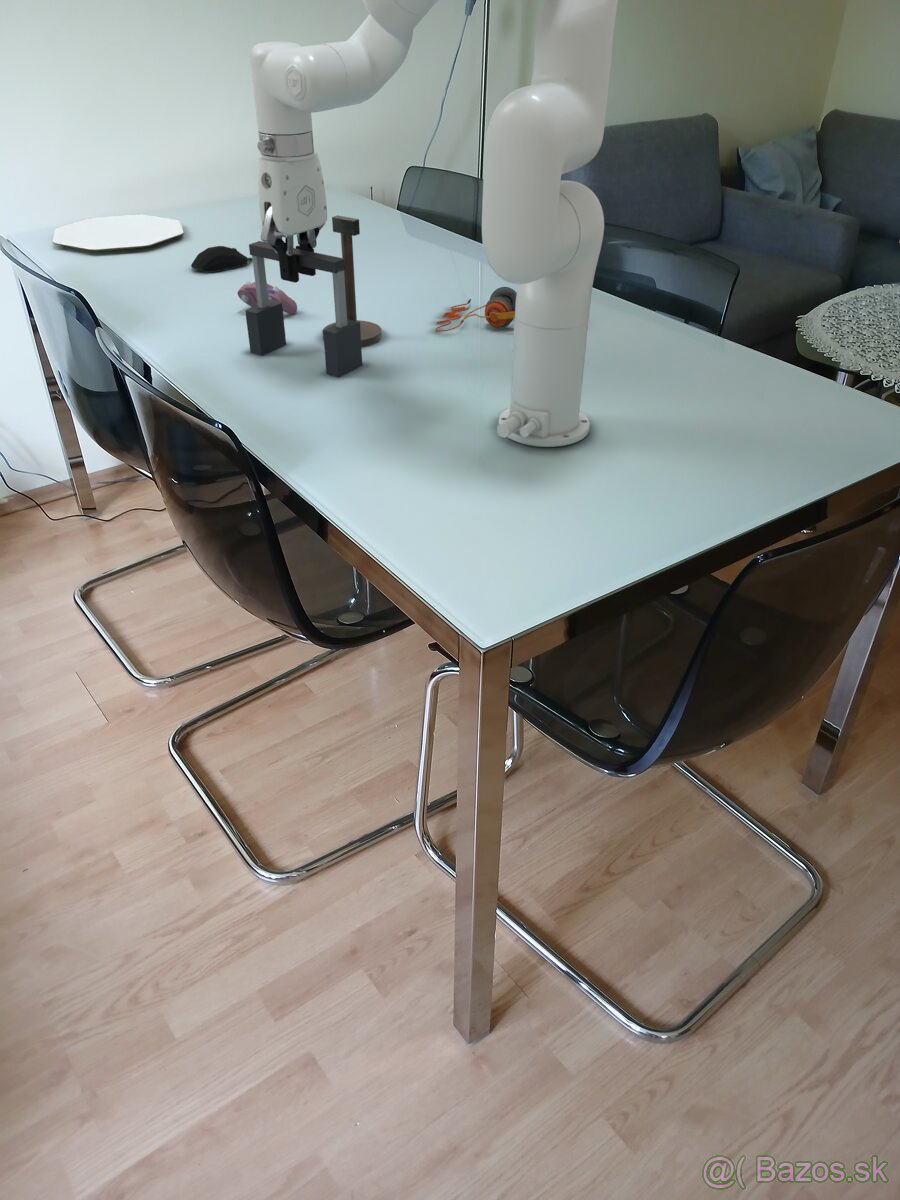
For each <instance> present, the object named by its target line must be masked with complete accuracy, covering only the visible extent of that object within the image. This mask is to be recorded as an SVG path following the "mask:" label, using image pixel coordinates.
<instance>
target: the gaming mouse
mask: <svg viewBox="0 0 900 1200" xmlns="http://www.w3.org/2000/svg"><path fill="white" fill-rule="evenodd" d="M248 262H253V259H252V257H247V256H246V255H244V254H243V253H241V252H240V251H238V250H237V248H236V247H229V246H224V245H216V246H211V247H207V248H206V249H204V250H203V251H200V252H199V253H198V254H197V255H196V256H195V258H194V259H193V261H192V263H191V264H190V267H191V268H192V269H193V270H195V271H197V272H198V271H199V272H204V273H215V272H216V273H217V272H222V271H227V270H231V269H236V268H241V267H245V266H246V265H248Z"/></svg>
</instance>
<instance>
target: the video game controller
mask: <svg viewBox="0 0 900 1200" xmlns="http://www.w3.org/2000/svg"><path fill="white" fill-rule="evenodd" d="M267 290H268V299H269V301H270V300H272V301H276V302H280V303H282V308H283V313H285V314H289V315H294V314H296V313H298V304H297V302H296V301H295V300H294V299H292V298H291V297H290V296H288V295H287V293H286V292H284V291H283V290H282V289H280V288H279V287H278V286H273V285H271V284H268V283H267ZM237 296H238V298H239V299H240V300H241V301H242V302H243V303H245V304H246V305H247V306H249V307H250V308H252V307H255V306H257V305H258V301H257V293H256V285H255V281H254V282H250V281H246V283H245V284H243V285H242V286H241V287H240V288H239V289H238V291H237Z"/></svg>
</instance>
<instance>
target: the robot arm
mask: <svg viewBox="0 0 900 1200" xmlns="http://www.w3.org/2000/svg"><path fill="white" fill-rule="evenodd" d="M361 1H362V3H363V5H364V8H365V9H366V11H367V12H368V15H367V17H366V18H365V19H364V21H363V22H362V23H361V25H360V26H359V27H358V28H357V29H356V30H355V32H354V33H353V34H352V35H351V36H350V37H349V38H348V39H347V40H345V41H334V42H326V43H318V44H312V45H304V46H302V45H301V44H299V43H296V42H290V41H266V42H260V43H257V44H255V45H254V46H253V47H252V49H251V52H250V67H251V68H250V69H251V77H252V83H253V84H252V85H253V95H254V96H253V97H254V105H255V113H256V125H257V133H258V142H257V144H256V145H257V150H258V151H259V152H260V157H259V159H258V205H259V215H260V216H259V217H260V221H261V226H262V229H261V235H260V241H262V242H265V243H267V244H270V245H271V246H272V247H273V248H274V250H275V253H278V256H279V261H278V264H279V273H280V274H279V275H280V279H281V280H282V281H287V282H291V283H294V284H295V283H299V281H300V274H301V275H305V276H310V277H314V276H316V275H317V273H316V271H317V269H312V268H308V267H303V266H299V265H298V261H297V255H295V254H293V253H294V248H296V249H300V250H305V251H310V252H315V248H316V247H317V244H318V242H317V238H318V236H319V235H320V231H321V230H322V228H323V227H324V225H326V222H327V220H328V205H327V197H326V196H327V195H326V189H325V188H326V187H325V181H324V176H323V175H324V174H323V171H322V166H321V162H320V159H319V155H318V153H317V152H316V151H315V148H314V135H313V134H314V133H313V119H312V113H320V112H321V113H322V112H325V111H330V110H334V109H338V108H339V109H340V108H344V107H350V106H355V105H359V104H362V103H364V102H366V101H368V100H370V99H371V98H373V96H375V95H376V94H377V93H378V92H379V91H380V90H381V89H382V88H383V87H384V86H385V85H386V83H387V82H388V81H389V80H390V79H392V77H393V76H394V75H395V74H396V72H398V70H399V69H400V68H401V66H402V65H403V63H404V62H405V60H406V58H407V57H408V56H407V55H408V53H409V50H410V47H411V45H412V41H413V37H414V29H415V28H416V26H417V25H419V23H420V22H421V21H422V19H424V17H425V16H426V15H427V14H428V13H429V12H430V10H431V9H432V8H433V7H434V6H435V4H437V3H438V1H439V0H361ZM618 2H619V0H544V2H543V5H542V7H541V10H540V14H539V17H538V20H537V21H538V22H537V23H536V24H537V25H536V29H535V36H534V55H533V56H534V57H533V66H532V77H531V81H530V84H529V85H526V86H525V85H524V86H522V87H520V88H517V89H515V90H513V91H511V92H509V93H508V94H507V95H506V96H505V97H503V99H502V100H501V101H500V102H499V103H498V104H497V105H496V108H495V109H494V111H493V113H492V115H491V117H490V120H489V123H488V126H487V129H486V134H485V141H484V151H483V175H482V203H481V205H482V206H481V242H482V248H483V253H484V256H485V259H486V261H487V263H488V265H489V266H490V268H491V269H492V271H493V272H494V273H495V275H497V276H498V277H499V278H500V279H502V280H503V281H505V282H507V283H510V284H515V285H517V289H516V293H517V295H516V306H515V318H514V324H513V344H512V345H513V346H512V364H511V365H512V366H511V384H510V385H511V386H510V388H511V389H510V405H509V407H507V408H505V409H504V410H502V412H501V413H500V414H499V416H498V424H497V426H496V432H497V435H498V436H499V437H501V438H503V439H505V438H507V439H510V440H512V441H514V442H516V443H519V444H522V445H526V446H531V447H540V448H557V447H564V446H569V445H572V444H575V443H578V442H580V441H582V440H584V438H585V437H586V436H588V434H589V432H590V425H591V423H590V422H591V421H590V419H589V417H588V416H587V415H586V414H585V413H584V412H582V411H581V402H582V391H583V382H584V381H583V380H584V373H585V372H584V369H585V362H586V361H585V359H586V351H587V350H586V348H587V339H588V330H589V321H590V311H591V302H592V295H593V293H592V292H593V285H594V281H595V276H596V275H595V274H596V270H597V266H598V262H599V257H600V254H601V249H602V245H603V240H604V232H605V215H604V211H603V208H602V204H601V203H600V200H599V198H598V196H597V195H596V194H595V192H594V191H593V190H592V189H590V188H589V187H588V186H586V185H585V184H583V183H581V182H579V181H576V180H575V181H574V180H562V175H565V174H567V173H570V172H573V171H575V170H577V169H580V168H581V167H584V166H586V165H587V164H588V163H590V162H591V161H592V160H593V159H594V158H595V157H596V156H597V155H598V153H599V151H600V149H601V147H602V143H603V140H604V135H605V134H604V133H605V126H606V119H607V118H606V116H607V105H608V98H609V97H608V96H609V87H610V77H611V68H612V57H613V42H614V35H615V34H614V32H615V25H616V18H617V10H618ZM295 235H296V238H297V240H296V241H297V244H298V245H295V247H294V236H295ZM283 238H284V239H285V240H283Z"/></svg>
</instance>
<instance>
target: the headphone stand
mask: <svg viewBox="0 0 900 1200" xmlns="http://www.w3.org/2000/svg"><path fill="white" fill-rule="evenodd" d="M331 223H332V224H331V225H332V232H333V233H337V234H340V244H341V258H344V259H345V266H346V270H344V279H345V295H346V311H347V319H350V320H354V321H358V322H360V330H361V348H363V347H369V346H373V345H374V344H377V343H378V342H380V341H381V340H382V337H383V330H382V328H381V326H380V325H379V324H377V323H375V322H372V321H367V320H360V319H359V320H358V317H357V316H358V315H357V299H356V297H357V296H356V280H355V262H354V261H355V260H354V247H353V246H354V245H353V244H354V243H353V237H355V236H358V235H360V234H361V230H360V219H359V218H354V217H350V216H349V217H348V216H343V215H334V216H332V217H331ZM335 324H336V321H335V322H332V323H329V324H328V325H326V326H324V328H322V331H321V332H322V334H323V330H324V329H327V328H329V327H331V326H333V325H335ZM322 340H323V341H324V336H323V335H322Z"/></svg>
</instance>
